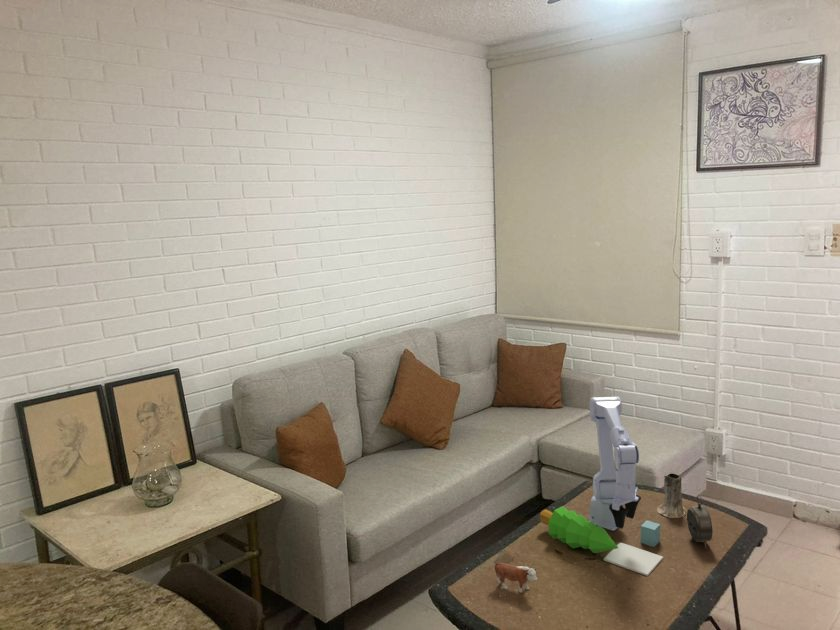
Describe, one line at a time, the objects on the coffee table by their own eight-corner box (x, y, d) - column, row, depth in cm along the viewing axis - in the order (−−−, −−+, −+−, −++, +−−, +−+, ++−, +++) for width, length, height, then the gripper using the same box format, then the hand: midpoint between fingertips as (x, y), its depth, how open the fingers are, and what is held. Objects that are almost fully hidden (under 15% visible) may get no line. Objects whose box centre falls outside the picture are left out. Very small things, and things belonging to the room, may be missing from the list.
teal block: (640, 542, 217) (641, 525, 216) (646, 537, 220) (646, 520, 219) (654, 547, 214) (654, 530, 213) (659, 541, 217) (660, 524, 216)
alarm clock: (712, 551, 210) (715, 503, 207) (695, 551, 210) (697, 503, 207) (699, 533, 221) (701, 487, 218) (683, 533, 221) (684, 487, 218)
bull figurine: (535, 600, 189) (535, 574, 188) (492, 586, 196) (492, 561, 195) (541, 591, 193) (541, 566, 191) (499, 579, 200) (498, 554, 198)
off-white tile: (603, 560, 207) (603, 558, 207) (620, 544, 216) (620, 542, 216) (647, 576, 198) (647, 574, 198) (663, 558, 207) (663, 556, 207)
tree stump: (658, 517, 232) (659, 481, 230) (655, 504, 242) (657, 469, 239) (688, 519, 230) (690, 483, 227) (685, 506, 239) (686, 471, 237)
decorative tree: (549, 493, 227) (624, 522, 203) (558, 517, 231) (633, 549, 208) (528, 514, 221) (602, 548, 198) (538, 540, 226) (612, 575, 202)
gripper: (628, 494, 199) (627, 535, 201) (647, 477, 209) (646, 516, 212) (605, 487, 203) (605, 528, 206) (626, 471, 214) (625, 510, 217)
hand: (624, 522), depth 209 cm, fingers open, 7 cm apart
